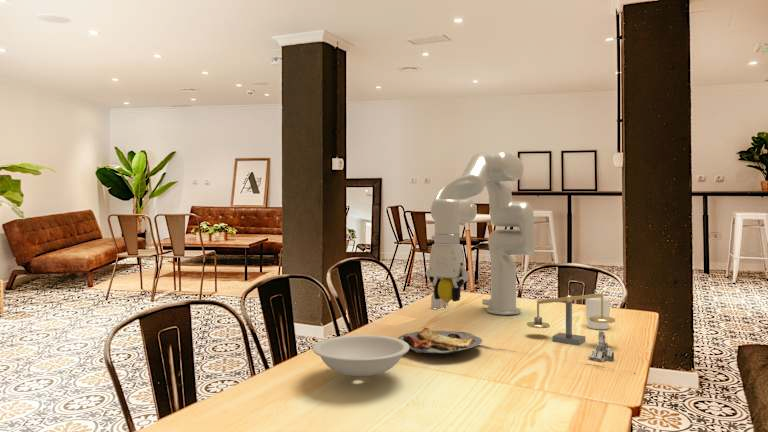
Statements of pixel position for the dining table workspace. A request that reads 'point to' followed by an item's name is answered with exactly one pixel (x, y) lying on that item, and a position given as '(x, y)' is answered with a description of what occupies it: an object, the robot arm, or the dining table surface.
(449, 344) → the food plate
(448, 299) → the lemon
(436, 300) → the tea bag
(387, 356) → the soup bowl
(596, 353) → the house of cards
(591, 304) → the white cup
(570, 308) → the balance
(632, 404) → the dining table surface
